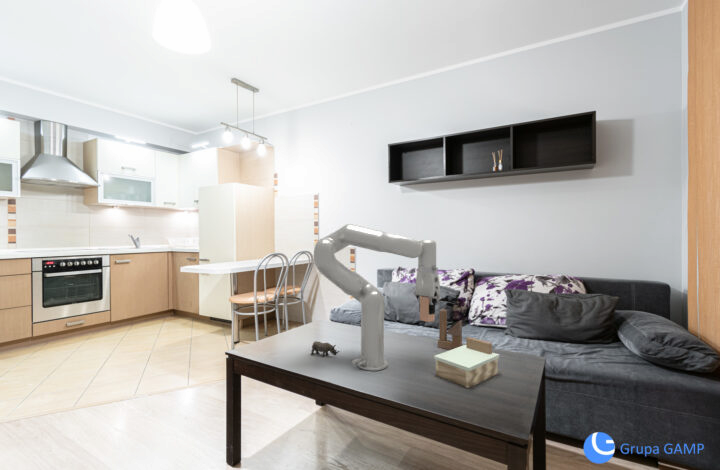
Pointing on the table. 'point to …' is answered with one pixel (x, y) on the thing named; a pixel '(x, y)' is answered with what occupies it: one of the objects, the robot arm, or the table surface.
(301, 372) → the table surface
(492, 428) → the table surface
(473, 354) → the lid
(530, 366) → the table surface
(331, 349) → the rhino figurine
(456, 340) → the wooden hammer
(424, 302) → the salmon rectangular block
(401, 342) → the table surface
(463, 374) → the tan wooden low box
